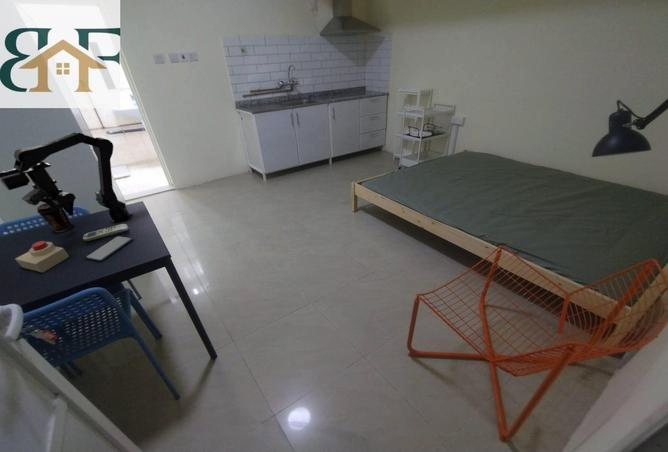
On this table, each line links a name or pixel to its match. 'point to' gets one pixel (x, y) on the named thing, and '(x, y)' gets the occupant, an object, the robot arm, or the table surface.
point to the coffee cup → (55, 217)
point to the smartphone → (109, 248)
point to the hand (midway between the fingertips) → (64, 213)
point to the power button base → (42, 258)
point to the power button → (39, 245)
